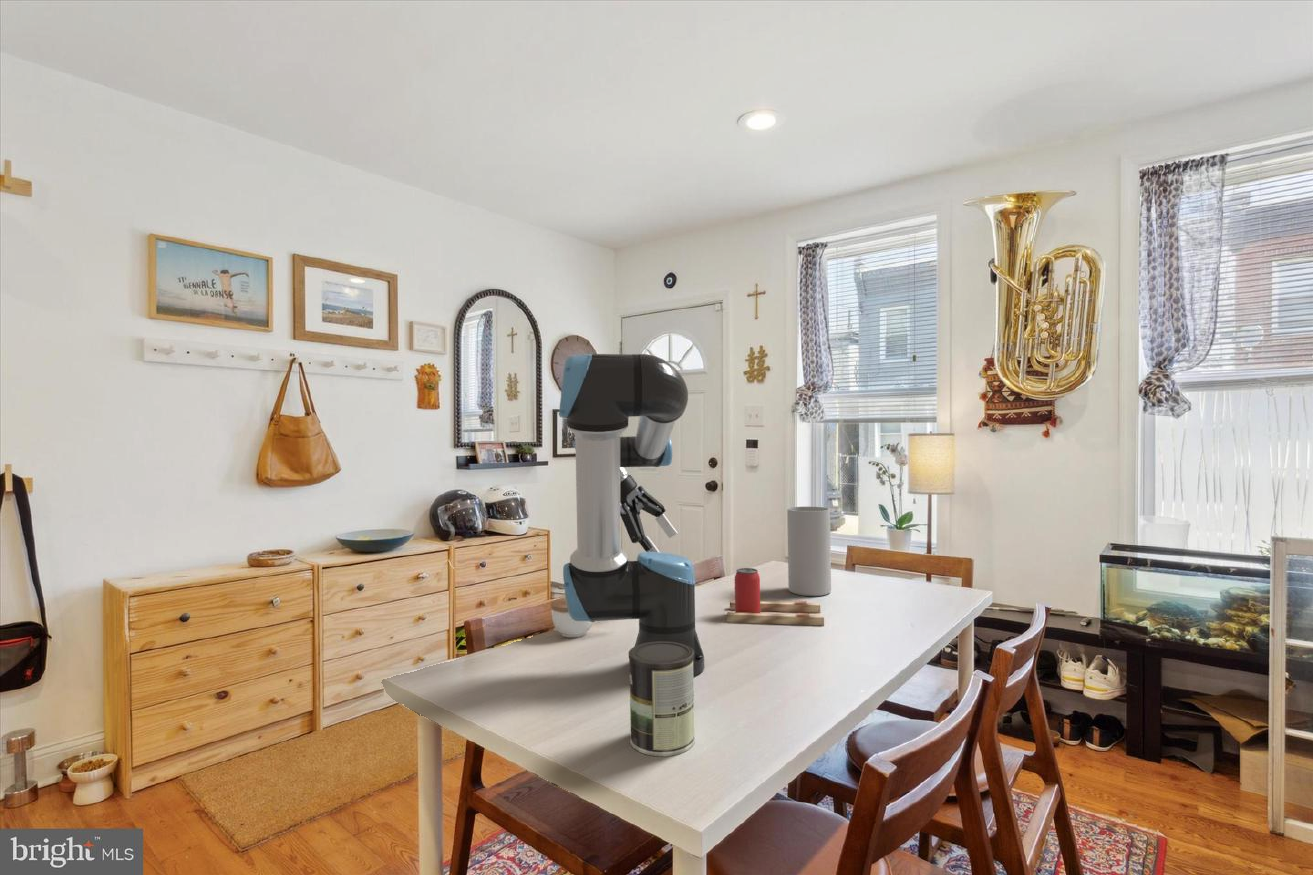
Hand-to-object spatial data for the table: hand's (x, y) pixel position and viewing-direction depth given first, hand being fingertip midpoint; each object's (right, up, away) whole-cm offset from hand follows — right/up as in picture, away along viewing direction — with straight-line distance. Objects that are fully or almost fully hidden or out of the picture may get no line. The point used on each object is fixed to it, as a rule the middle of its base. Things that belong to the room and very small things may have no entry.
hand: (666, 546), depth 167 cm
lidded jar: (-23, -19, -12) cm, 32 cm away
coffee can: (-2, -19, -67) cm, 70 cm away
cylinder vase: (+44, -18, +25) cm, 54 cm away
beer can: (+22, -19, +1) cm, 28 cm away
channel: (+28, -18, 0) cm, 34 cm away
